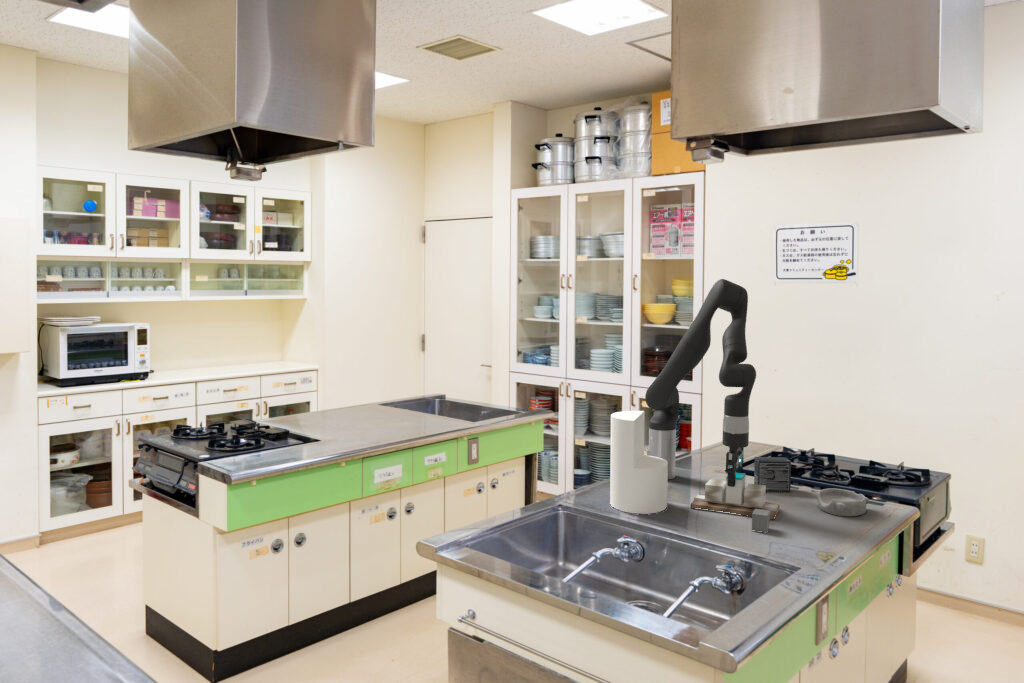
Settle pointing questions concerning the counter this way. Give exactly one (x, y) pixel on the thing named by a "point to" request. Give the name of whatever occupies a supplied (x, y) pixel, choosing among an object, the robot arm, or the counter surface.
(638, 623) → the counter surface
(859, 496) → the dish
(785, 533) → the counter surface
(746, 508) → the board
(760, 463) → the small box
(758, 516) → the grey block
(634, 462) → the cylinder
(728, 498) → the block
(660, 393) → the robot arm
